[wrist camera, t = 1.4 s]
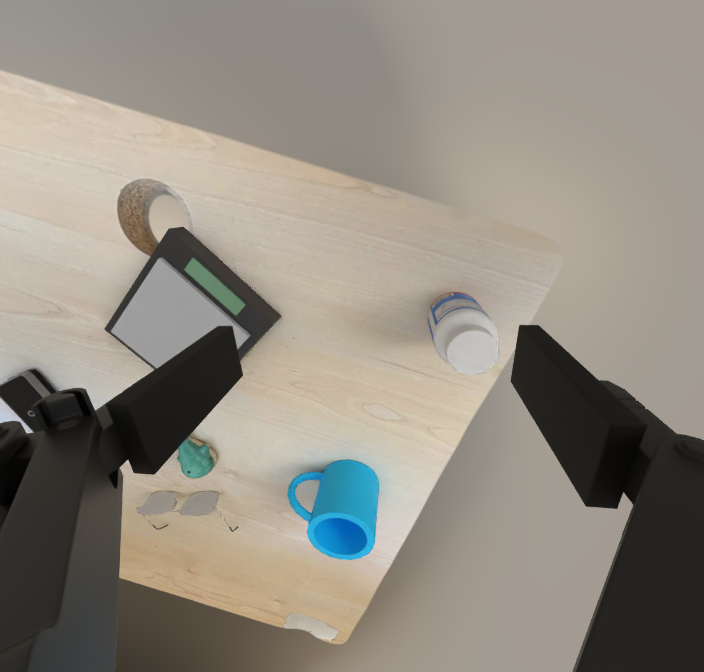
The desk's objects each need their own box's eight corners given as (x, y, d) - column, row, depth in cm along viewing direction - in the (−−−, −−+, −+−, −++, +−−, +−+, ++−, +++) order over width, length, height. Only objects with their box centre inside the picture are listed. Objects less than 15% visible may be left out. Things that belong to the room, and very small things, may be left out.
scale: (183, 226, 35) (164, 228, 32) (281, 316, 37) (272, 325, 34) (120, 322, 41) (99, 331, 38) (208, 393, 43) (195, 407, 40)
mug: (387, 472, 44) (384, 527, 37) (367, 510, 48) (361, 567, 40) (304, 442, 44) (285, 491, 37) (290, 482, 47) (270, 535, 40)
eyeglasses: (226, 490, 50) (213, 515, 47) (242, 523, 54) (231, 548, 50) (148, 490, 53) (130, 513, 49) (168, 521, 56) (153, 545, 53)
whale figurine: (198, 469, 49) (183, 489, 46) (168, 433, 47) (149, 451, 44) (227, 458, 47) (214, 479, 44) (197, 420, 45) (181, 439, 42)
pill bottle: (471, 342, 35) (495, 390, 26) (422, 333, 36) (429, 378, 27) (486, 294, 33) (518, 329, 24) (434, 285, 34) (446, 317, 25)
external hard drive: (60, 438, 51) (47, 447, 49) (7, 380, 47) (-9, 388, 45) (89, 425, 49) (77, 434, 47) (36, 365, 45) (21, 372, 44)
